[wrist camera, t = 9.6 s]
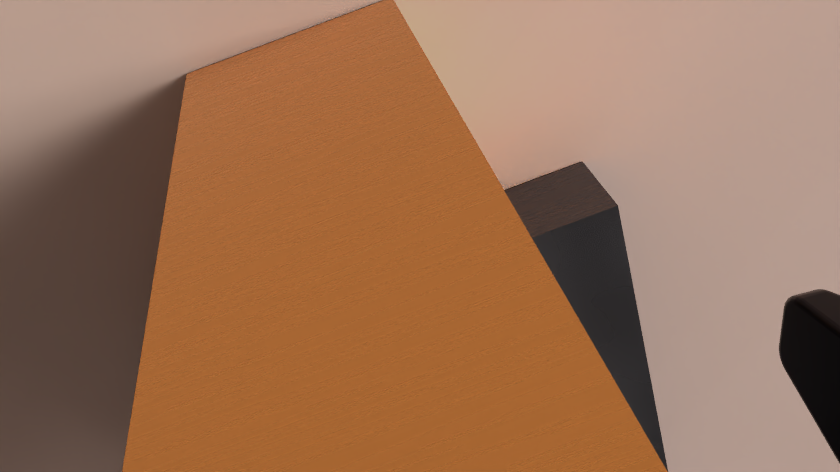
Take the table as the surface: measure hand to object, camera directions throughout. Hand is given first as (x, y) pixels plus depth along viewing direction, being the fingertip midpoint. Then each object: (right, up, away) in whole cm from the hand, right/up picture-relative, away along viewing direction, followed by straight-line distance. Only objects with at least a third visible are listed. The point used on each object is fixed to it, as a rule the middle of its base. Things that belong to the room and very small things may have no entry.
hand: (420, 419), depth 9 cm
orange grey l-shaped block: (+1, -2, +5) cm, 5 cm away
